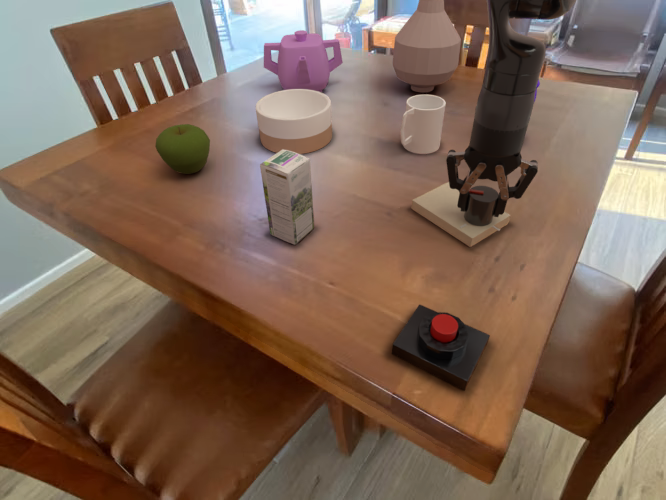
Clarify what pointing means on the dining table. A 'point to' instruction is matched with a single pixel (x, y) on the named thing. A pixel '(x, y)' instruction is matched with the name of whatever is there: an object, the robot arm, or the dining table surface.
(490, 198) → the hob knob
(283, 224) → the syrup box
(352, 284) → the dining table surface
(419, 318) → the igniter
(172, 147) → the apple
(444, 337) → the button
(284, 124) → the bowl
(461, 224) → the hob panel
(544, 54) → the robot arm
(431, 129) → the cup
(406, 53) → the vase
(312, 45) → the teapot
